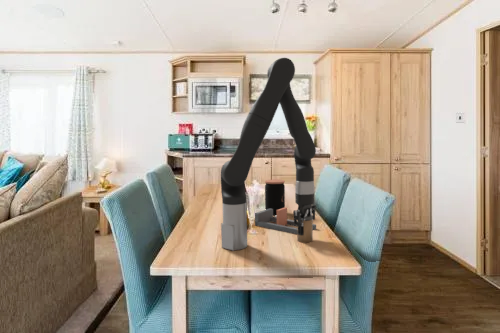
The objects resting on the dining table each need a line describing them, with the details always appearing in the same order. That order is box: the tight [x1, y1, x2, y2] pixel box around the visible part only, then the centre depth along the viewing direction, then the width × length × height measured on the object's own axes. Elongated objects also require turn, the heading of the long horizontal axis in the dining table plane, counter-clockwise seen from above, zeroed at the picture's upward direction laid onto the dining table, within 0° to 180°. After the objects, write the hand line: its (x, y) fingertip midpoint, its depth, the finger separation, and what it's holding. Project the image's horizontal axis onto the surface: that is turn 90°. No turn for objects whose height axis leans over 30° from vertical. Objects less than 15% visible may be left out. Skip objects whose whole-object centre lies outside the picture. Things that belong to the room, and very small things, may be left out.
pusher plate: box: [274, 206, 288, 226], centre depth 150 cm, size 4×7×8 cm, turn 140°
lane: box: [254, 208, 317, 235], centre depth 148 cm, size 26×12×6 cm, turn 50°
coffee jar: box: [264, 179, 286, 216], centre depth 174 cm, size 11×11×18 cm
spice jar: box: [296, 215, 314, 244], centre depth 129 cm, size 6×6×10 cm
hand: (304, 232), depth 129 cm, fingers closed on spice jar, 6 cm apart
